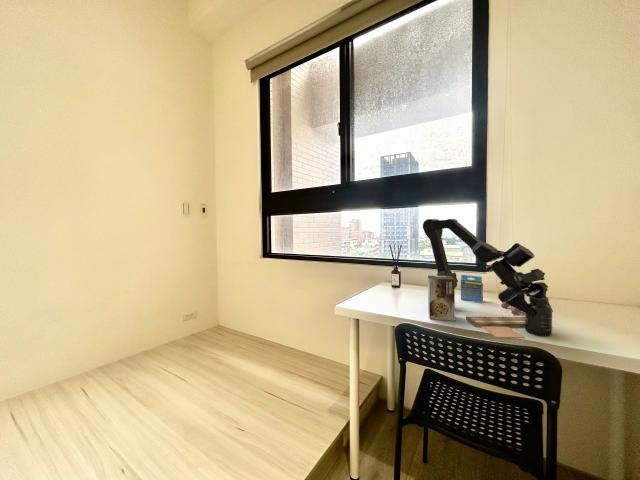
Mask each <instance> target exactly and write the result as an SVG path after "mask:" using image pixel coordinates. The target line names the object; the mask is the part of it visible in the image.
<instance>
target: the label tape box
mask: <svg viewBox="0 0 640 480" xmlns="http://www.w3.org/2000/svg"><path fill="white" fill-rule="evenodd" d="M482 281H483V277H482V276H480V275H479V276H477V275H470V274H469V275H467V274H460V300H461V301H466V302H474V303H481V304H482V303H483V301H484V283H483V282H482Z"/></svg>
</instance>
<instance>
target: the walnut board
mask: <svg viewBox="0 0 640 480" xmlns="http://www.w3.org/2000/svg"><path fill="white" fill-rule="evenodd" d="M465 321H467V322H468V323H469V324H471V325H472V326H474V327H476V328H479V327H480V328H481V327H482V326H505V327H509V328H525V316H475V315H474V316H472V315H471V316H470V315H469V316H467V315H466V316H465Z"/></svg>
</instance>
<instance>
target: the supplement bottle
mask: <svg viewBox="0 0 640 480" xmlns="http://www.w3.org/2000/svg"><path fill="white" fill-rule="evenodd" d="M528 300H529V301H528V302H527V303H528V304H529V306H530V307H531V308H532V310H533V311H534V313H535V314H536V316H535V317H532V316H530V315H528V314H526V313H524V317H525V327H524V330H525V331H526V332H527V333H529V334H531V335H534V336H538V337H550V336H551V335H552V334H553V312H552V310H553V308H552V306H551V305H550V306H551V307H550V306H548V304H550V302H549V298H548V297H547V296H546V297H544V296H538V295H531V296H530V297H529V298H528Z"/></svg>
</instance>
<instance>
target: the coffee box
mask: <svg viewBox="0 0 640 480" xmlns="http://www.w3.org/2000/svg"><path fill="white" fill-rule="evenodd" d="M455 295H456V294H455V289H454V278H453V277H452V276H437V275H427V299H428V300H427V301H428V302H427V305H428V308H427V309H428V318H430V319H429V320H438V321H439V320H440V321H453V322H455V321H456V309H455V307H456V306H455V305H456V304H455V303H456V301H455V298H456V297H455Z"/></svg>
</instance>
